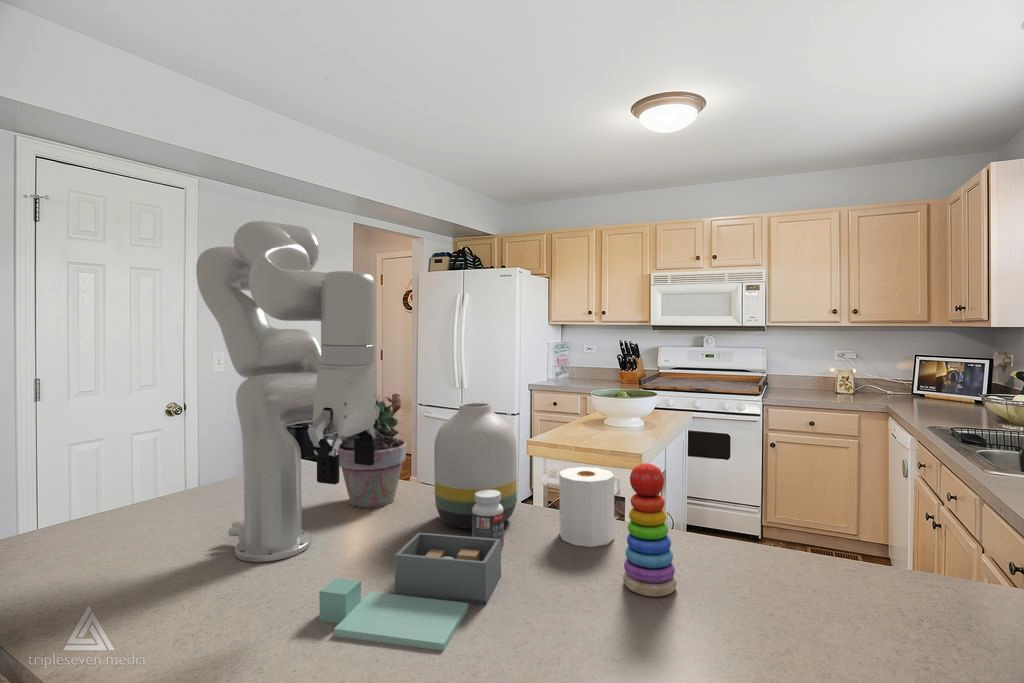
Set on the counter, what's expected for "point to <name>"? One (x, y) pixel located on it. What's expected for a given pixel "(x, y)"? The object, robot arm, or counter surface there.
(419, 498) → the counter surface
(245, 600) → the counter surface
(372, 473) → the potted plant
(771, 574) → the counter surface
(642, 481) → the stacking toy
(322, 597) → the mint slab with cube
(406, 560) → the tub
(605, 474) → the toilet paper
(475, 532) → the pill bottle
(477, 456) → the vase
